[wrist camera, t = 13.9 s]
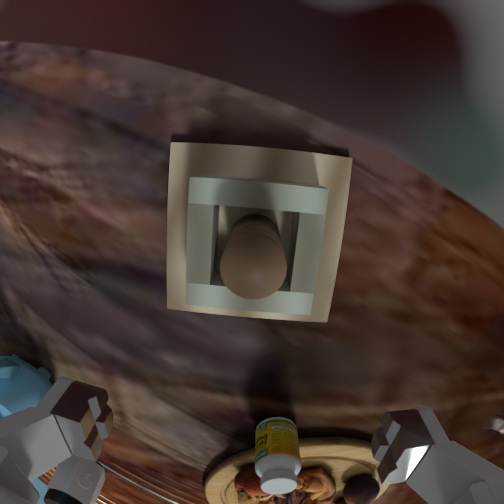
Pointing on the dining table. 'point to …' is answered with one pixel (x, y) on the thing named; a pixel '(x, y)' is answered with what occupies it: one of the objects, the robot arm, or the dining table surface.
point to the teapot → (21, 385)
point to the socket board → (254, 202)
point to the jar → (75, 482)
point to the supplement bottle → (277, 455)
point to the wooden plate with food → (303, 476)
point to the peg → (253, 258)
